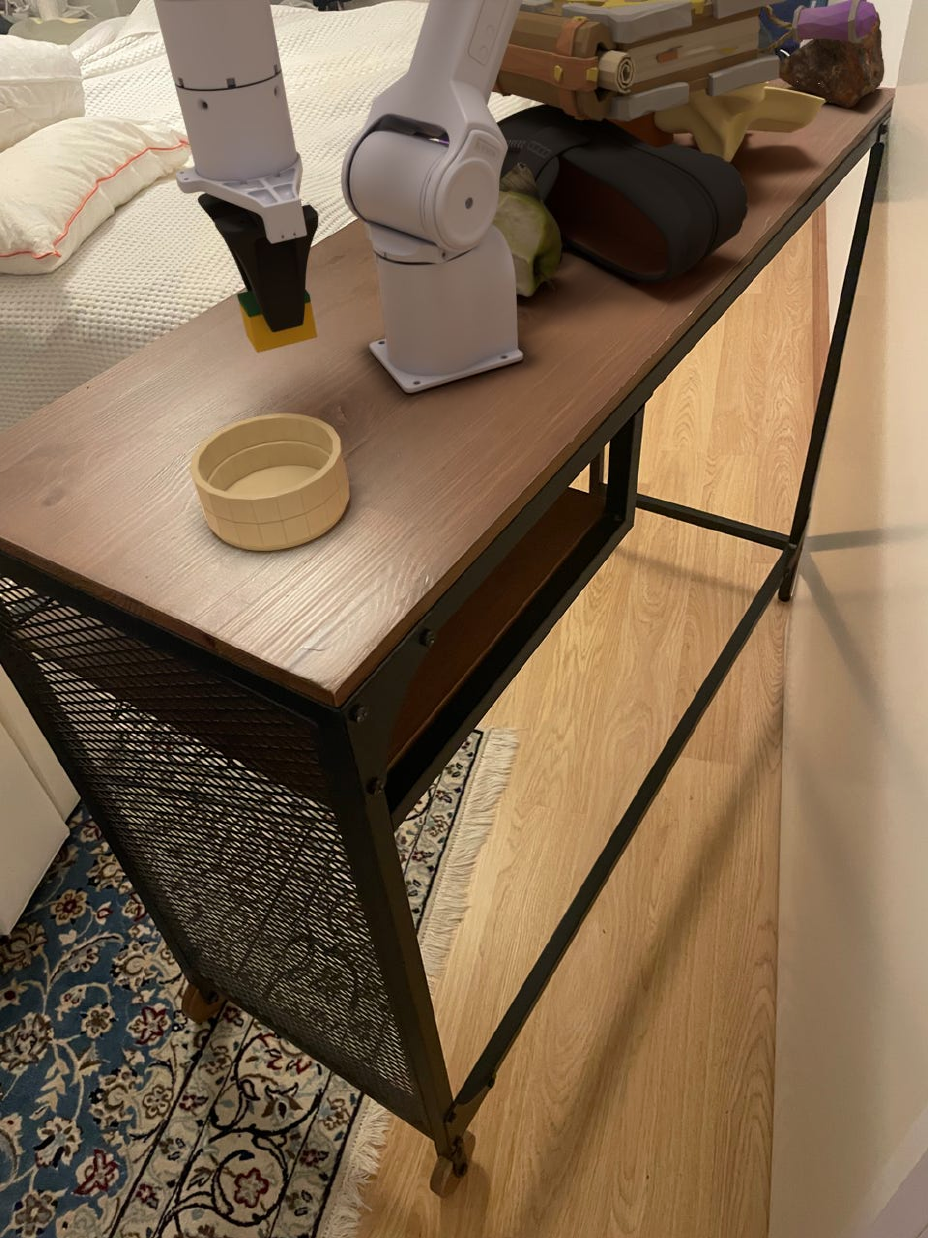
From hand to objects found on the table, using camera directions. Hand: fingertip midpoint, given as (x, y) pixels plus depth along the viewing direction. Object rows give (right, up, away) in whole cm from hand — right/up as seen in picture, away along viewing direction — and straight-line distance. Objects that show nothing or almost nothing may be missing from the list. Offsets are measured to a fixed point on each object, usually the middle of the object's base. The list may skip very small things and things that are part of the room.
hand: (279, 316), depth 60 cm
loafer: (+25, +21, +24) cm, 41 cm away
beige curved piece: (+36, +33, +34) cm, 60 cm away
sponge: (0, -1, +1) cm, 1 cm away
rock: (+50, +40, +47) cm, 79 cm away
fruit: (+17, +15, +19) cm, 29 cm away
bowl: (0, -12, 0) cm, 12 cm away
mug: (+28, +32, +43) cm, 60 cm away
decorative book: (+33, +21, +17) cm, 42 cm away
